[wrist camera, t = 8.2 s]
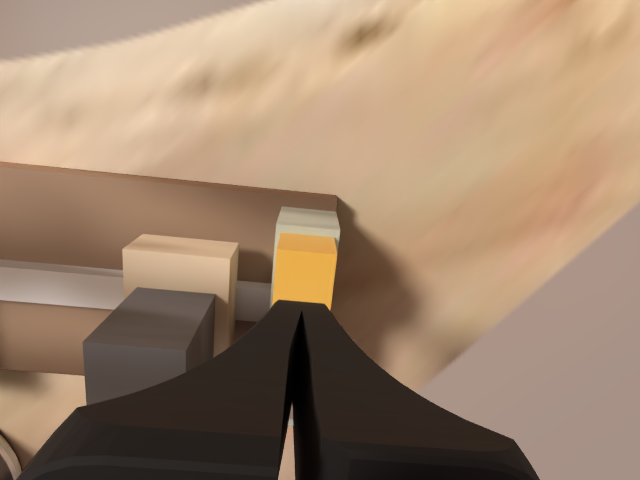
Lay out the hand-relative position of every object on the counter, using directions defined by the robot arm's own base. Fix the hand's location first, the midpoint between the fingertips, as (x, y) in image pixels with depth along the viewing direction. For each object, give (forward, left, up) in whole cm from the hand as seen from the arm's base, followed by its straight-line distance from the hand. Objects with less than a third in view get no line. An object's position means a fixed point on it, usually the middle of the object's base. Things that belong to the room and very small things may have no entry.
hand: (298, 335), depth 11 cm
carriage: (-3, +5, -7) cm, 9 cm away
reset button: (0, 0, -5) cm, 5 cm away
